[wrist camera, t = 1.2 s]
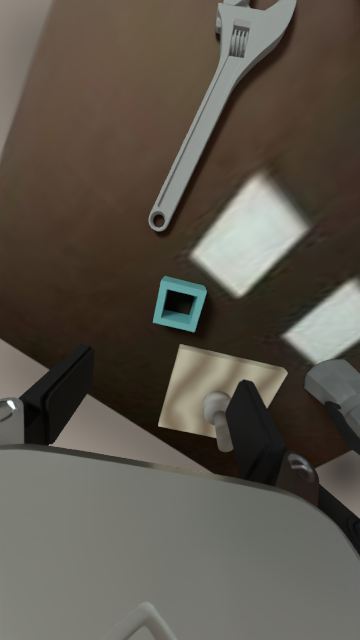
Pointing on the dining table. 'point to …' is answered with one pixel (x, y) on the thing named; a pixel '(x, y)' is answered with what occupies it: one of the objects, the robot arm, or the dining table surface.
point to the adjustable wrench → (223, 85)
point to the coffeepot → (338, 396)
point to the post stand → (212, 391)
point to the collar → (174, 317)
